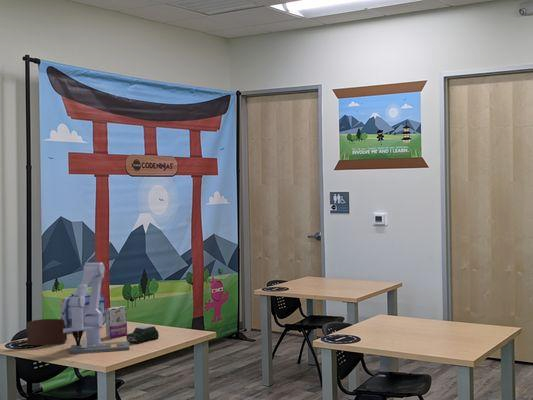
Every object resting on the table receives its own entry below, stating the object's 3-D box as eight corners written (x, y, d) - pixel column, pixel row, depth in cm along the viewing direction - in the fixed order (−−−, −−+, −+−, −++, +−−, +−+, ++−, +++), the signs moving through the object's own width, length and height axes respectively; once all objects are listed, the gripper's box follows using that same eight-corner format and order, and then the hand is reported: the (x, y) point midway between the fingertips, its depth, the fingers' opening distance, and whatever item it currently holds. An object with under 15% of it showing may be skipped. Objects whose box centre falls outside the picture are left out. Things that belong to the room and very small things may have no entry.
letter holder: (65, 344, 387) (64, 318, 387) (27, 346, 384) (26, 320, 384) (67, 340, 397) (66, 315, 397) (30, 342, 394) (29, 317, 394)
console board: (71, 348, 375) (71, 345, 375) (129, 344, 381) (129, 341, 381) (69, 354, 362) (69, 350, 362) (129, 349, 367) (129, 346, 367)
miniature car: (124, 342, 386) (124, 328, 385) (149, 336, 400) (149, 322, 399) (135, 344, 380) (135, 329, 380) (160, 338, 394) (160, 324, 394)
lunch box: (66, 334, 414) (65, 296, 414) (58, 331, 422) (56, 294, 422) (108, 326, 433) (106, 290, 432) (99, 324, 440) (98, 289, 440)
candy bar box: (123, 334, 409) (122, 305, 409) (127, 335, 405) (126, 306, 405) (105, 337, 402) (104, 308, 401) (110, 338, 398) (109, 309, 398)
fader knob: (81, 346, 370) (81, 338, 370) (86, 346, 370) (86, 338, 370) (81, 348, 366) (81, 340, 365) (86, 347, 366) (85, 339, 366)
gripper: (62, 321, 362) (63, 348, 362) (91, 320, 365) (92, 346, 365) (63, 319, 369) (64, 345, 369) (92, 317, 372) (93, 343, 372)
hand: (78, 345), depth 367 cm, fingers closed
